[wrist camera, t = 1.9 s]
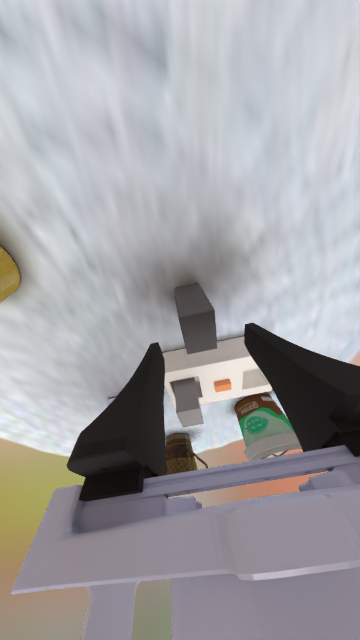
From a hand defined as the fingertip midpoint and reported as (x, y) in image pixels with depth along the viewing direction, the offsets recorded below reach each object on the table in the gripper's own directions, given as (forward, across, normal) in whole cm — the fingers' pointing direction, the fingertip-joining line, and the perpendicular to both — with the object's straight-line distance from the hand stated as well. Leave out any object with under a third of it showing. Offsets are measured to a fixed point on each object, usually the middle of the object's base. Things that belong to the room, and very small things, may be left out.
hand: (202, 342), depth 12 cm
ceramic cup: (+8, +9, +42) cm, 44 cm away
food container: (+8, -9, +29) cm, 32 cm away
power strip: (+8, -2, +13) cm, 16 cm away
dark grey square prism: (+8, 0, 0) cm, 8 cm away
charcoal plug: (+7, +3, +13) cm, 15 cm away
